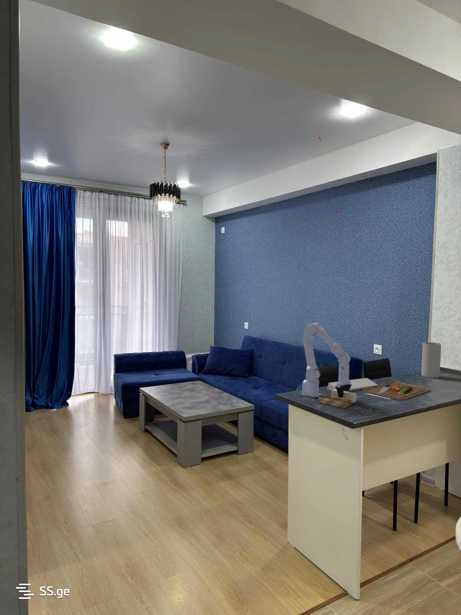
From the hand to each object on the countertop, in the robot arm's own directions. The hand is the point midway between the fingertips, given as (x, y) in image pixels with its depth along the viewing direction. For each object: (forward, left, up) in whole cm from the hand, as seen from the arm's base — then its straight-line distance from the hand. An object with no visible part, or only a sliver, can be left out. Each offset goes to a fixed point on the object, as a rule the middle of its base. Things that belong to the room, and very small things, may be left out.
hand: (343, 397), depth 240 cm
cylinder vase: (+20, +106, -2) cm, 108 cm away
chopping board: (+16, +43, -2) cm, 46 cm away
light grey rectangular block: (0, 0, -2) cm, 2 cm away
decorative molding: (-7, +30, -2) cm, 31 cm away
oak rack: (0, -11, -1) cm, 11 cm away
